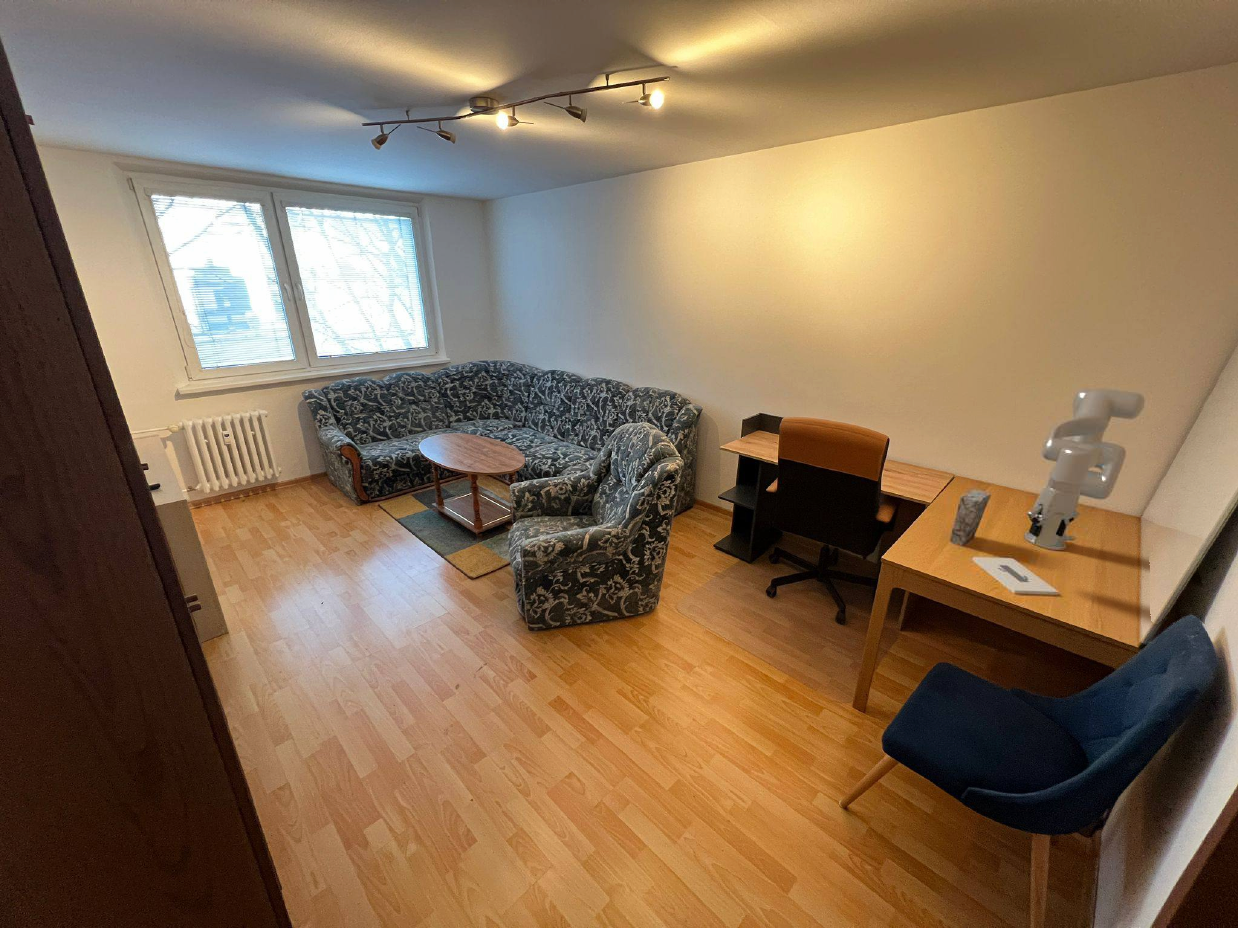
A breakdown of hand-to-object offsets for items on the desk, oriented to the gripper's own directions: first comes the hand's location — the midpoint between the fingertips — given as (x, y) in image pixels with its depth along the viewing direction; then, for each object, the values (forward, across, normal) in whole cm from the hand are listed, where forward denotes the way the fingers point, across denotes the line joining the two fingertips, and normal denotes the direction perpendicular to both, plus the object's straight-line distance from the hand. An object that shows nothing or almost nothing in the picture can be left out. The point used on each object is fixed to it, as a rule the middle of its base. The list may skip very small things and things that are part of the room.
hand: (1045, 534), depth 156 cm
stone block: (+18, +4, -26) cm, 32 cm away
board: (+17, +5, -1) cm, 18 cm away
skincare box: (+3, 0, 0) cm, 3 cm away
